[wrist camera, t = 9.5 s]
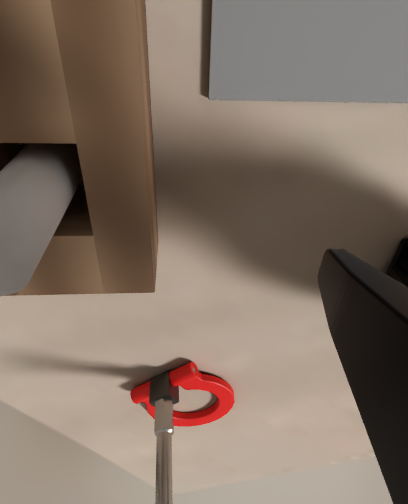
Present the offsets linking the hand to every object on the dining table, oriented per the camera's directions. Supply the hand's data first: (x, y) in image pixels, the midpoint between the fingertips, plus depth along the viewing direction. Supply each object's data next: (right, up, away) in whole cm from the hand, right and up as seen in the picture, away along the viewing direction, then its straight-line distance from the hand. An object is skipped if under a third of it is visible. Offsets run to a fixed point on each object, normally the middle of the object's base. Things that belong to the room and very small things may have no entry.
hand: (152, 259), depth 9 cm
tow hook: (0, -13, +25) cm, 29 cm away
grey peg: (-7, +6, +11) cm, 14 cm away
